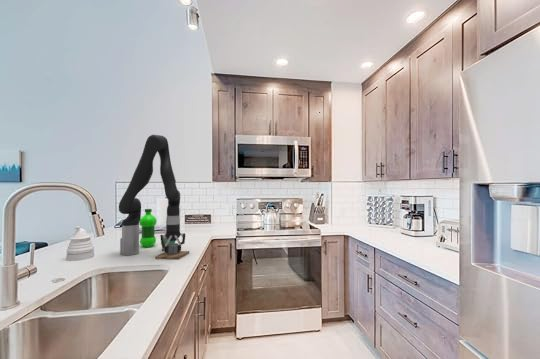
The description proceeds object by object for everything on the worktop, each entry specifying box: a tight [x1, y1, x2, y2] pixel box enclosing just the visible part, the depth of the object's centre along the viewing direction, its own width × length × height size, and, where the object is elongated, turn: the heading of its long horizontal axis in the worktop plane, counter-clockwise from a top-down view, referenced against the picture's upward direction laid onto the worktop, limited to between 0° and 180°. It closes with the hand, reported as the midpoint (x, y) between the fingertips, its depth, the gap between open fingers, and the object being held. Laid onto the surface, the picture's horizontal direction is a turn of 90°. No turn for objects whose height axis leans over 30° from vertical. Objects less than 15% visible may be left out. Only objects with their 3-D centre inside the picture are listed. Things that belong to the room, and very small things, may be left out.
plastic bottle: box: [139, 208, 158, 248], centre depth 181 cm, size 10×10×25 cm
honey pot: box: [65, 225, 95, 262], centre depth 153 cm, size 13×13×18 cm
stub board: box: [154, 250, 190, 261], centre depth 156 cm, size 14×14×5 cm
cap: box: [167, 242, 179, 255], centre depth 157 cm, size 6×6×5 cm
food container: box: [161, 236, 176, 252], centre depth 173 cm, size 12×6×10 cm, turn 168°
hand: (172, 252), depth 157 cm, fingers closed on cap, 6 cm apart
